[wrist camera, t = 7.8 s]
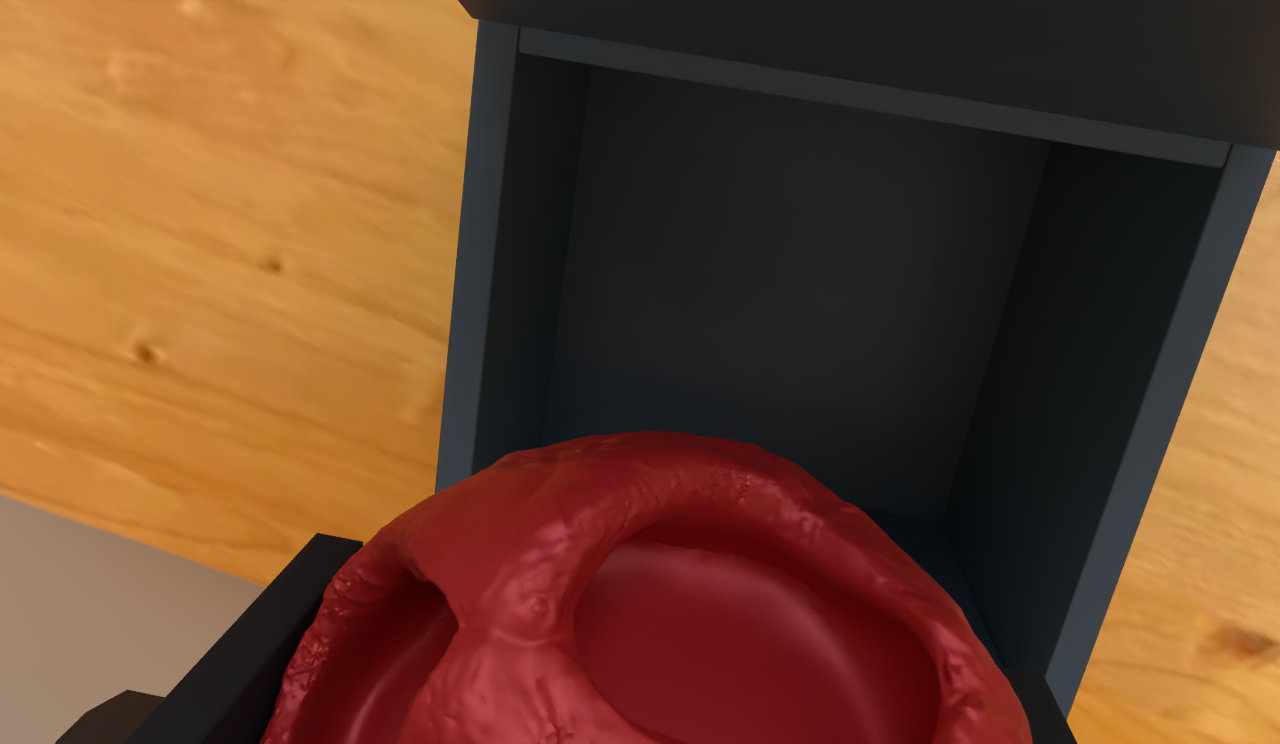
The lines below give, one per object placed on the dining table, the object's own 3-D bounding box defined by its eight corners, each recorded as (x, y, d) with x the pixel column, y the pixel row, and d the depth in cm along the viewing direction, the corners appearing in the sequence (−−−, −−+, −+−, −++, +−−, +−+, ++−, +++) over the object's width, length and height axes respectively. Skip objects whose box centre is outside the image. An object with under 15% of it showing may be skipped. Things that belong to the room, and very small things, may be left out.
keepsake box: (954, 536, 35) (1054, 755, 24) (520, 455, 36) (421, 631, 25) (1081, 108, 30) (1284, 132, 19) (574, 25, 31) (479, 1, 20)
